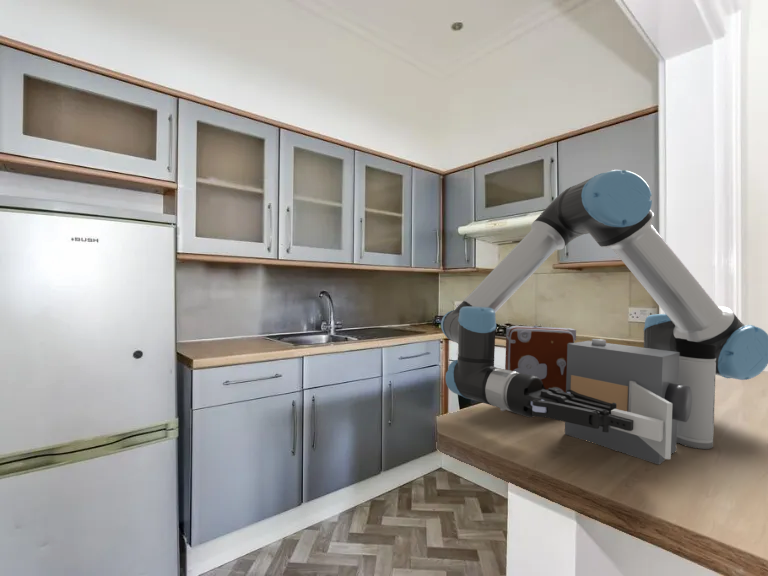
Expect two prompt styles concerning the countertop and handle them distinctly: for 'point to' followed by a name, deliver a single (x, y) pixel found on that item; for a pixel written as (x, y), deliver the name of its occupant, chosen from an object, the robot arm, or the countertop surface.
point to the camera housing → (625, 389)
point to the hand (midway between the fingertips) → (661, 431)
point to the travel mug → (697, 392)
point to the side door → (652, 415)
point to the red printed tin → (539, 353)
